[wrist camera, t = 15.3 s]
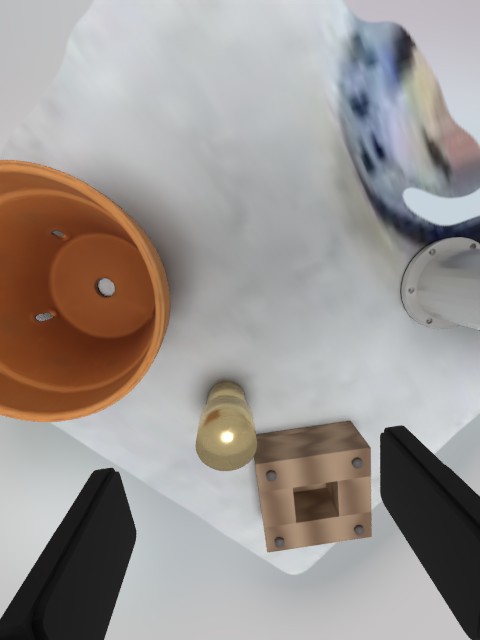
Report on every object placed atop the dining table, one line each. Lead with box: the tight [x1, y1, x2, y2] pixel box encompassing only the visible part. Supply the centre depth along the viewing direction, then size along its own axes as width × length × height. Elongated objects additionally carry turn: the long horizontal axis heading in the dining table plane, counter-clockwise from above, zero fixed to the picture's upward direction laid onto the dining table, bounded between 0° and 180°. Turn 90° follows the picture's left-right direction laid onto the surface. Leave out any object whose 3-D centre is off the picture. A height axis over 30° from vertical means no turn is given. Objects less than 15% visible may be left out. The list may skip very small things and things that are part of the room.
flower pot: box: [0, 160, 170, 422], centre depth 28 cm, size 21×21×15 cm
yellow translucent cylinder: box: [196, 382, 257, 471], centre depth 35 cm, size 7×7×10 cm
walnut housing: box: [254, 421, 372, 552], centre depth 40 cm, size 16×16×6 cm
